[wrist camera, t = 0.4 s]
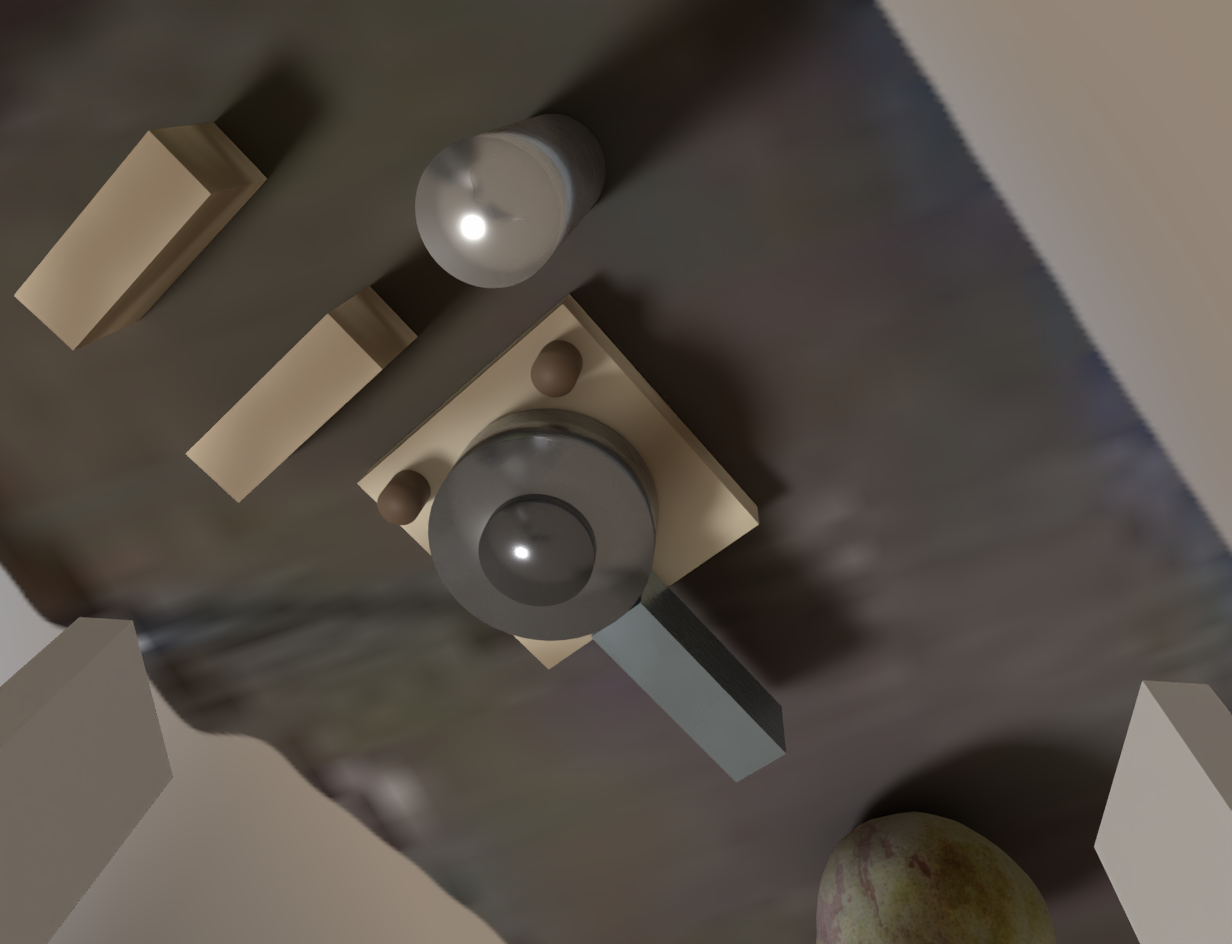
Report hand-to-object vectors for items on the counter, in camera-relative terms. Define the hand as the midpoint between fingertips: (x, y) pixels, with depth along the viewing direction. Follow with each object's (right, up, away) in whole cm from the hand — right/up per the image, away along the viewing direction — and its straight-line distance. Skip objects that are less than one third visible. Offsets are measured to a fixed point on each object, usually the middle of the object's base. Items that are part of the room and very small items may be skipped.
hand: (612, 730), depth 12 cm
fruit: (+14, -14, +30) cm, 36 cm away
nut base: (-2, +3, +24) cm, 24 cm away
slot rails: (-14, +10, +22) cm, 28 cm away
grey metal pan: (0, -1, +24) cm, 24 cm away
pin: (-2, +14, +19) cm, 24 cm away
